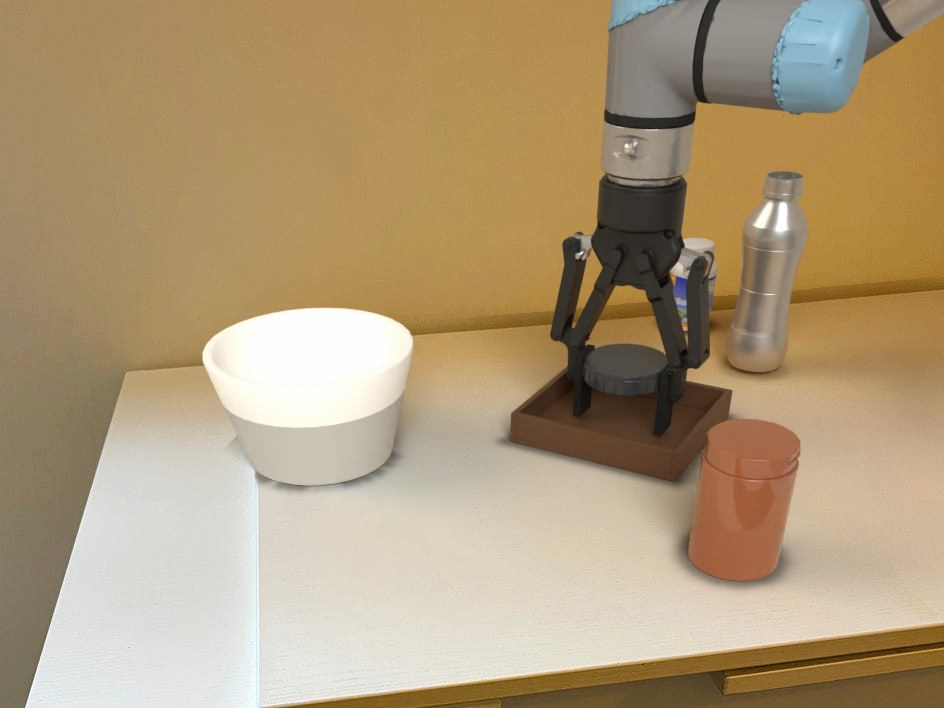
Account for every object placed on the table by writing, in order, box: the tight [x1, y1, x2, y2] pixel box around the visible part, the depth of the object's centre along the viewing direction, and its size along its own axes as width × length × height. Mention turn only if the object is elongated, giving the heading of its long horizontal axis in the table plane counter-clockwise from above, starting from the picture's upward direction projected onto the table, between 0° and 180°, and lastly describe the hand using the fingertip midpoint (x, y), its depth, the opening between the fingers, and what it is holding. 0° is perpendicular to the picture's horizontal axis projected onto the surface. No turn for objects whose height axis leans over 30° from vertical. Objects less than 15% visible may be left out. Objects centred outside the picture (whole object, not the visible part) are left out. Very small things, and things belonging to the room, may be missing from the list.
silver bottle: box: [725, 170, 809, 373], centre depth 105 cm, size 6×7×20 cm
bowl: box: [202, 307, 415, 486], centre depth 94 cm, size 19×19×11 cm
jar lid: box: [583, 343, 668, 396], centre depth 96 cm, size 8×8×2 cm
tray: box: [509, 366, 734, 483], centre depth 99 cm, size 17×15×3 cm
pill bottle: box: [670, 237, 718, 332], centre depth 118 cm, size 5×5×10 cm
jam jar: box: [687, 418, 801, 582], centre depth 78 cm, size 7×7×11 cm
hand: (621, 420), depth 99 cm, fingers closed on jar lid, 8 cm apart
